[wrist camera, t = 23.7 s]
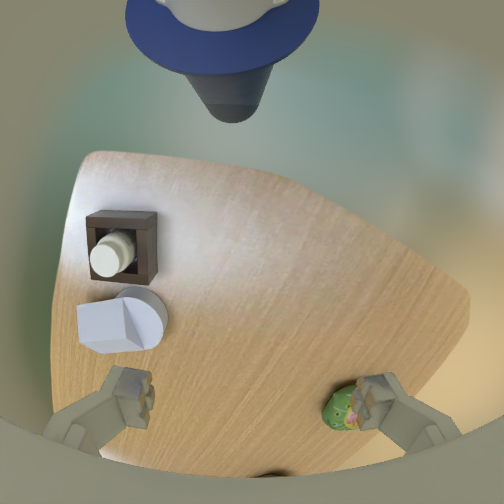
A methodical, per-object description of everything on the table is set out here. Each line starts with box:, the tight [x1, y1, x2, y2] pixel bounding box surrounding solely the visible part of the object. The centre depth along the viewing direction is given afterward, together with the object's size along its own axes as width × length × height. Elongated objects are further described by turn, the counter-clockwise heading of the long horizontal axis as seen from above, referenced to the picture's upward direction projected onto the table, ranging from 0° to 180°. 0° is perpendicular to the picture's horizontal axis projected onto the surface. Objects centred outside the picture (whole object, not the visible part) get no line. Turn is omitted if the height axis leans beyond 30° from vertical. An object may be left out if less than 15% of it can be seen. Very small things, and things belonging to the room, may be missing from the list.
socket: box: [86, 210, 158, 285], centre depth 36 cm, size 9×9×4 cm
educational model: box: [321, 385, 359, 431], centre depth 47 cm, size 13×16×5 cm
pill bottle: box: [90, 229, 137, 277], centre depth 34 cm, size 5×5×8 cm
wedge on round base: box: [77, 287, 168, 354], centre depth 38 cm, size 9×7×13 cm
